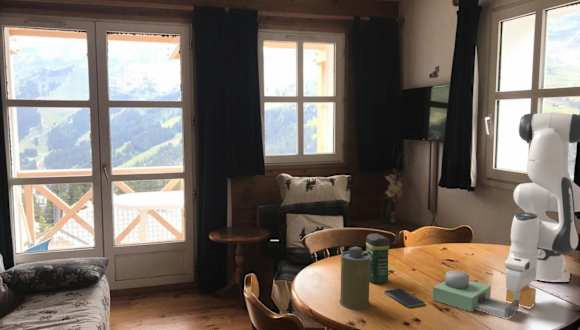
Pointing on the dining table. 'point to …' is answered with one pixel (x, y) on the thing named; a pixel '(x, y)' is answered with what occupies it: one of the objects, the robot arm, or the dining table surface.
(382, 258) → the coffee jar
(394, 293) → the phone
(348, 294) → the canister
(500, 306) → the open gray drawer
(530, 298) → the orange block
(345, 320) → the dining table surface
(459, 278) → the green block with dome
